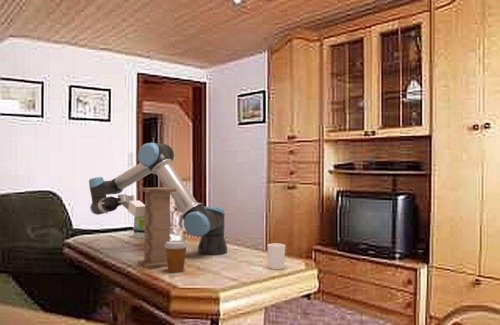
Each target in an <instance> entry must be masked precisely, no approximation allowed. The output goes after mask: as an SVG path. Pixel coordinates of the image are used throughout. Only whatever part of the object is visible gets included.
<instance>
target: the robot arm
mask: <svg viewBox="0 0 500 325" xmlns="http://www.w3.org/2000/svg"><path fill="white" fill-rule="evenodd" d="M137 156H138V161H139V163H138V164H136V165H134V166H133V167H132V168H129V169H127V170H126V171H124V172H123V173H121V174H119V175H118V176H117V177H114V178H113V179H111V180H105V179H104V178H103V177H102V176H96V177H93V178H90V179H89V180H88V184H89V191H90V197H91V204H90V206H89V207H90V208H89V209H90V211H91V213H92V214H93V215H103V214H104V215H105V214H109V212H110V213H111V212H114V211H115V210H117V209H118V207H120V206H123V205H122V204H121V202H124V201H126V200H125V196H121V197H118V196H117V197H114V196H112V195H119V194H121V193H122V192H123V191H124V189H126V188H127V187H130V186H131V185H133V184H134V183H136V182H137V181H140V180H141V179H143V178H145V177H146V176H148V175H150V174H152V175H153V174H154V175H156V177H158V178H159V180H160V181H161V183H162V185H163V186H164V187H165V188H176V192H170V197H171V198H172V199H173V201H174V203H175V204H176V206H177V207H178V208H179V209H180V211H181V212H182V214H181V218H182V220H183V227H184V230H185V231H186V232H187V233H188V234H189V235H191V236H192V237H200V240H199V242H198V246H197V253H198V254H201V255H206V256H207V255H209V256H210V255H211V256H212V255H213V256H215V255H224V254H227V253H228V245H227V242H226V238H225V215H226V214H225V209H224V208H223V207H219V206H218V207H216V206H205V205H204V204H203V203H202V202H197V200H196V199H195V196H193V195H192V193H191V191H190V189H189V188H188V187H187V186H186V184H185V183H184V181H183V179H181V177H180V175H179V174H178V172H177V171H176V170H175V169H174V167H173V166H172V163H173V161H174V159H175V152H174V149H173V147H171V146H170V145H169V144H166V143H157V142H147V143H146V142H145V143H144V144H143V145H142V146H141V147H140V148H139V150H138V155H137ZM107 195H111V196H107ZM127 196H128V197H129V198H131V199H132V200H133V201H136V199H135V195H134V194H133V195H127Z"/></svg>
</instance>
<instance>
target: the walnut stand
mask: <svg viewBox="0 0 500 325" xmlns="http://www.w3.org/2000/svg"><path fill="white" fill-rule="evenodd" d="M138 192H141V193H144V205H145V239H144V247H143V248H144V249H143V250H144V254H143V256H144V258H143V259H142V260H138V261H137V265H139V266H141V265H142V267H144V266H145V267H144V268H147V267H148V268H147V269H149V268H150V270H154V268H155V269H160V268H161V267H162V268H166V267H167V268H168V264H167V256H166V248H165V244H166V242H167V241H171V240H170V236H171V235H170V234H171V233H170V232H171V231H170V230H171V229H170V228H171V227H170V226H171V225H170V224H171V219H170V218H171V216H170V215H171V195H170V192H176V188H166V187H165V186H164V187H162V186H161V187H160V186H159V187H139V188H138Z"/></svg>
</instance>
